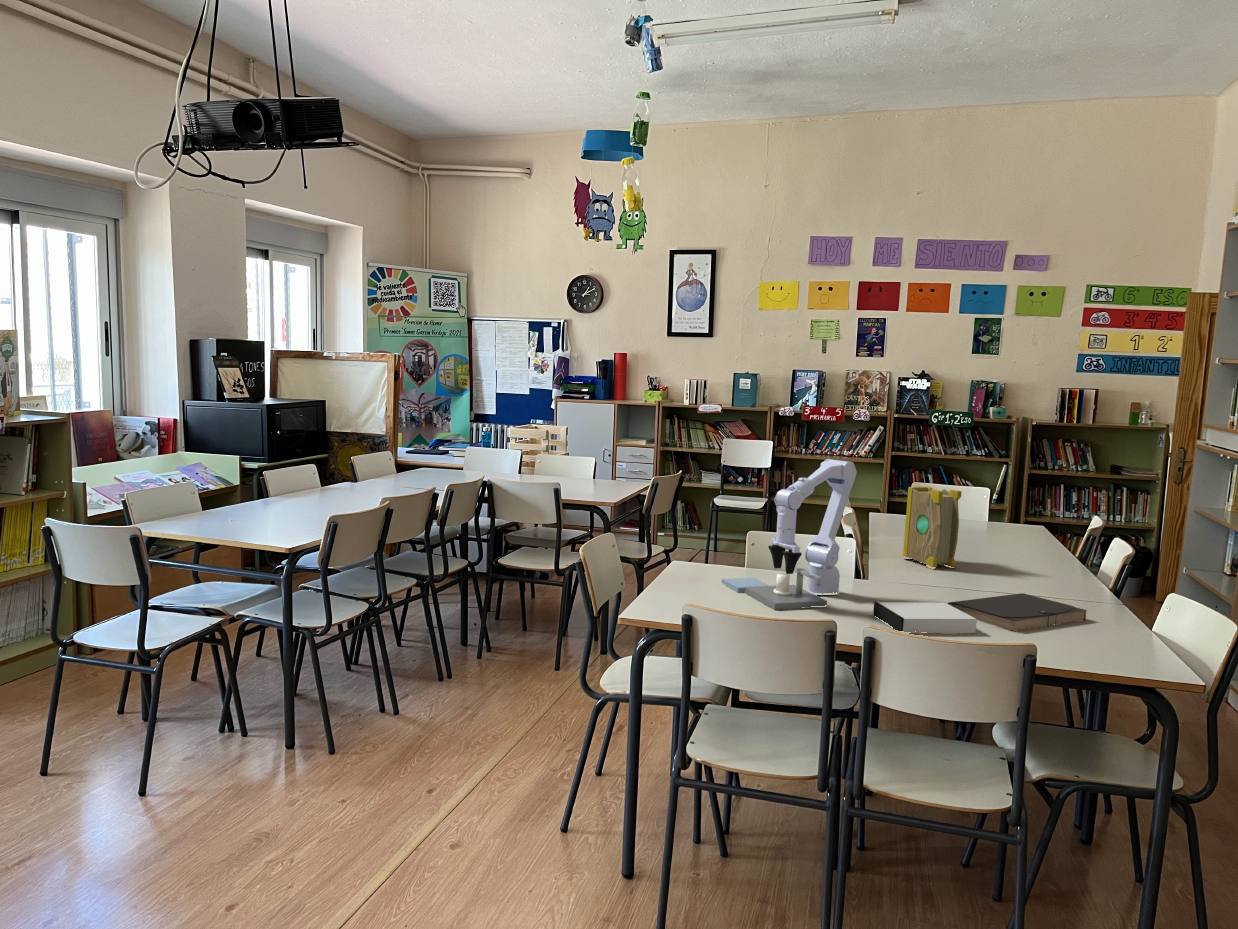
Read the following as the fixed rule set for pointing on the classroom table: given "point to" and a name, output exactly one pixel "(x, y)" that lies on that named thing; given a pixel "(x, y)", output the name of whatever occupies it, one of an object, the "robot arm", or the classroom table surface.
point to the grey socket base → (795, 600)
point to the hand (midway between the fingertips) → (783, 571)
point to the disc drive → (924, 617)
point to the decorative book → (931, 525)
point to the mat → (742, 583)
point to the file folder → (1019, 611)
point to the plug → (782, 585)
